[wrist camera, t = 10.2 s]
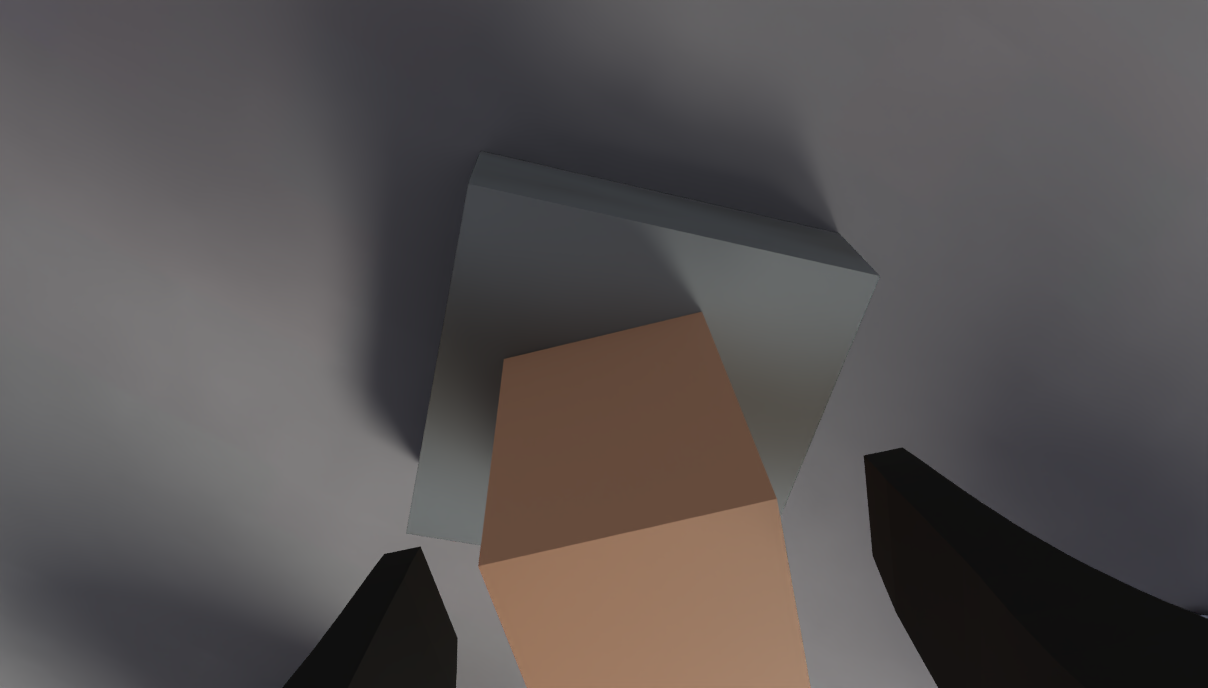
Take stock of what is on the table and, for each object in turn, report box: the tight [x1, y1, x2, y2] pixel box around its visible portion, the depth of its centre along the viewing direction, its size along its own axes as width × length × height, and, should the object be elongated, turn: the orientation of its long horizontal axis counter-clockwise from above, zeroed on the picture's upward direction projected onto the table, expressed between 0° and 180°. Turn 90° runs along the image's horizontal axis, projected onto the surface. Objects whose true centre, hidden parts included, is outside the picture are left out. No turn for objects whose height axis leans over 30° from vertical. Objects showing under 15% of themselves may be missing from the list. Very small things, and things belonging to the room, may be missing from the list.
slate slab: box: [406, 151, 880, 545], centre depth 18 cm, size 8×8×3 cm
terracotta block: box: [478, 312, 811, 688], centre depth 14 cm, size 4×4×6 cm
